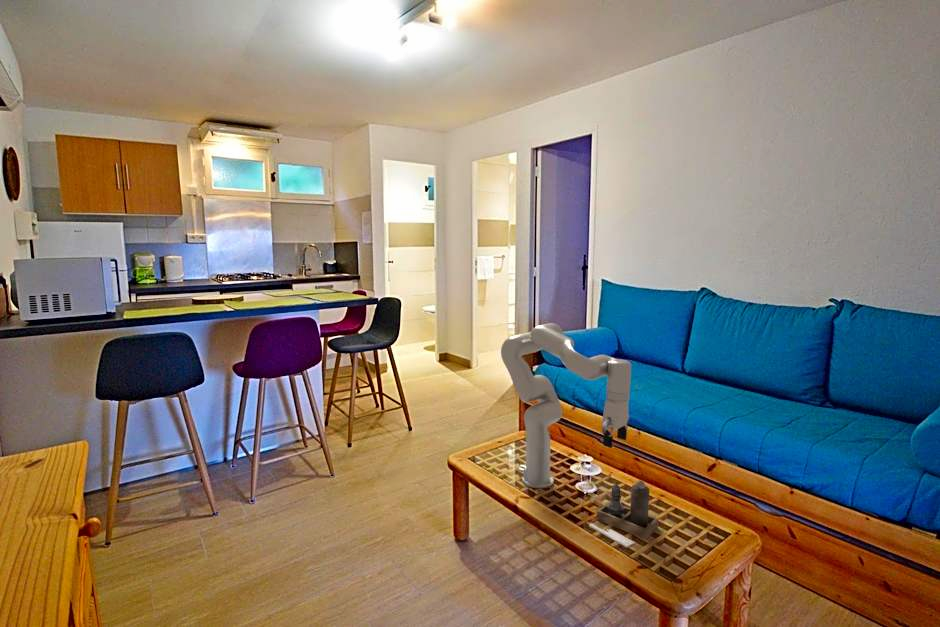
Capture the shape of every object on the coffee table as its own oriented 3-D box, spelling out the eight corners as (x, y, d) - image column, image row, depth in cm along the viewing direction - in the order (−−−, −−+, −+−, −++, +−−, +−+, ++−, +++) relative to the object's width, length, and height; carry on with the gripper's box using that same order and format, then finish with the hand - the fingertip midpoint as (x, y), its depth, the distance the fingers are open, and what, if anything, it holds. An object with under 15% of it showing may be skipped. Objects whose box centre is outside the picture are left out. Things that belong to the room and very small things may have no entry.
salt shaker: (616, 522, 164) (617, 488, 162) (602, 515, 168) (603, 482, 167) (627, 517, 167) (628, 483, 166) (613, 509, 172) (614, 477, 170)
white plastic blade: (598, 522, 166) (598, 519, 166) (636, 543, 154) (636, 540, 154) (588, 527, 164) (589, 523, 163) (626, 549, 151) (626, 545, 151)
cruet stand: (596, 519, 168) (598, 473, 165) (609, 509, 174) (610, 464, 172) (646, 539, 156) (648, 490, 154) (657, 527, 162) (659, 480, 160)
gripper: (620, 388, 177) (617, 433, 179) (594, 398, 165) (592, 446, 167) (639, 392, 172) (636, 439, 174) (615, 403, 160) (611, 453, 162)
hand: (614, 442), depth 171 cm, fingers open, 9 cm apart
